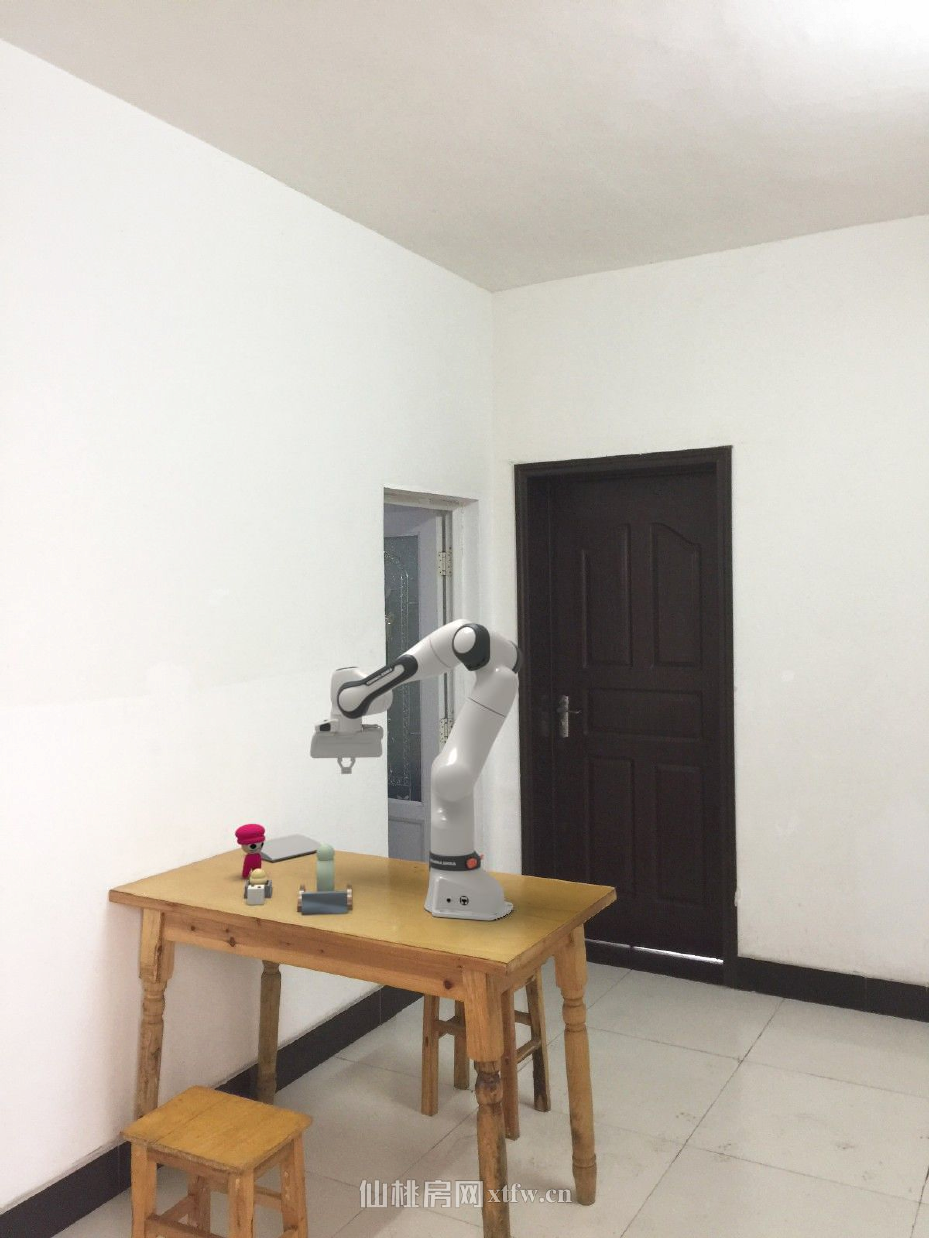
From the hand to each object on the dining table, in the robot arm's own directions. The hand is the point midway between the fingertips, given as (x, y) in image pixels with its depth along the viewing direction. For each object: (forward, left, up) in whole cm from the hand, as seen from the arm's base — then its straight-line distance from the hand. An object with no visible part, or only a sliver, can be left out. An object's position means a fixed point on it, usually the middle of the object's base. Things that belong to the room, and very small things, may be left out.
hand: (346, 773), depth 295 cm
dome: (+11, +25, -27) cm, 39 cm away
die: (+7, +32, -29) cm, 44 cm away
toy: (+24, +12, -29) cm, 40 cm away
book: (+33, -16, -30) cm, 47 cm away
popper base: (+11, +25, -29) cm, 40 cm away
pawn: (-4, +17, -29) cm, 34 cm away
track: (-7, +22, -29) cm, 37 cm away
